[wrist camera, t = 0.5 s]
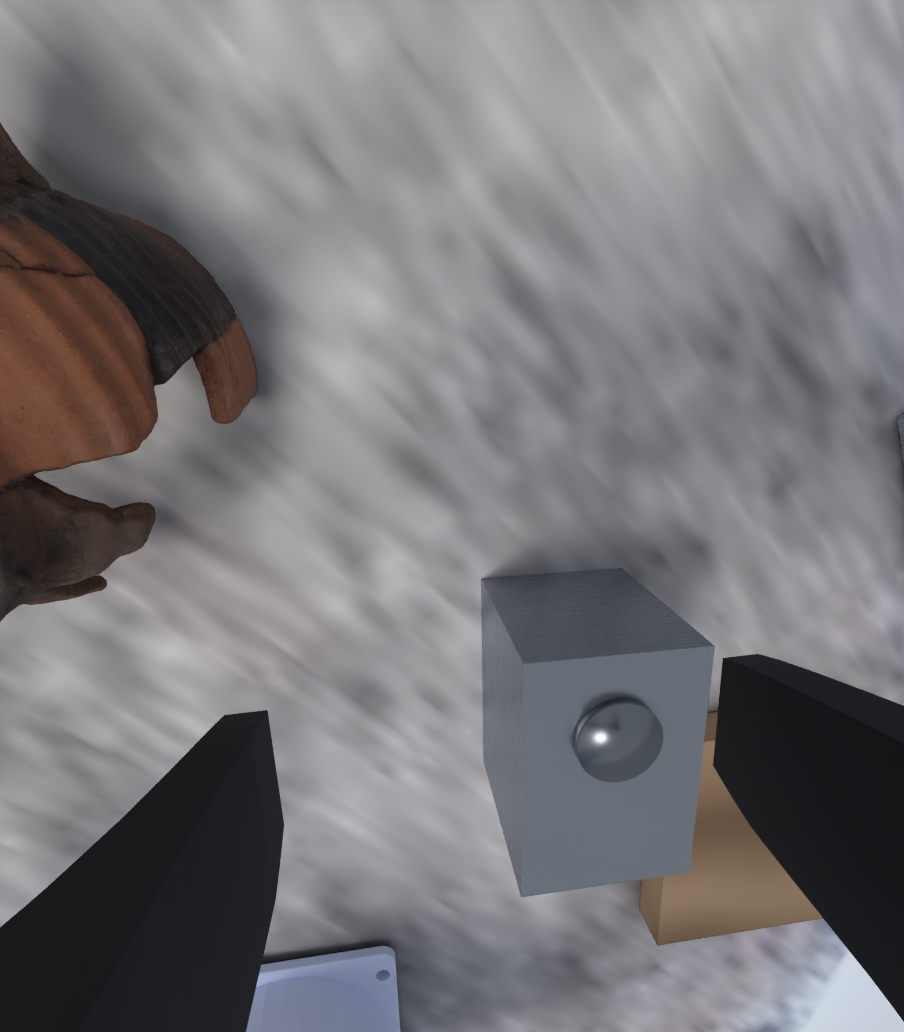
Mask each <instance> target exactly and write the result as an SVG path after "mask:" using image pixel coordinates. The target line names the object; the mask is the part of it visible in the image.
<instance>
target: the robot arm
mask: <svg viewBox="0 0 904 1032" xmlns="http://www.w3.org/2000/svg"><path fill="white" fill-rule="evenodd" d="M713 766H714V768H715V770H716V771H717V773H718V775H719V777H720V778H721V780H722V782H723V783H724V785H725V787H726V788H727V790H728V792H729V793H730V795H731V797H732V798H733V800H734V802H735V803H736V805H737V806H738V808H739V809H740V811H741V812H742V814H743V816H744V817H745V819H746V820H747V822H748V823H749V825H750V826H751V828H752V829H753V830H754V832H755V833H756V834H757V835H758V837H759V838H760V839H761V841H762V842H763V843H764V844H765V846H766V847H767V848H768V850H769V851H770V852H771V853H772V855H773V856H774V857H775V858H776V860H777V861H778V862H779V863H780V865H781V866H782V867H783V869H784V870H785V871H786V872H787V874H788V875H789V876H790V877H791V879H792V880H793V881H794V882H795V884H796V885H797V886H798V887H799V889H800V890H801V891H802V892H803V894H804V895H805V896H806V897H807V899H808V900H809V901H810V902H811V904H812V905H813V906H814V907H815V909H816V910H817V911H818V912H819V914H820V915H821V916H822V917H823V919H824V920H825V921H826V922H827V923H828V925H829V926H830V927H831V928H832V930H833V931H834V932H835V933H836V935H837V936H838V937H839V938H840V940H841V941H842V942H843V943H844V945H845V946H846V947H847V948H848V950H849V951H850V952H851V953H852V955H853V956H854V957H855V958H856V960H857V961H858V962H859V963H860V965H861V966H862V967H863V968H864V970H865V971H866V972H867V973H868V975H869V976H870V977H871V978H872V980H873V981H874V982H875V984H876V985H877V986H878V988H879V989H880V990H881V992H882V993H883V994H884V996H885V997H886V998H887V1000H888V1001H889V1002H890V1004H891V1005H892V1006H893V1007H894V1009H895V1010H896V1012H897V1013H898V1014H899V1016H900V1017H901V1018H902V1020H903V1021H904V706H903V705H900V704H898V703H895V702H892V701H890V700H887V699H884V698H882V697H879V696H876V695H874V694H871V693H869V692H866V691H863V690H861V689H858V688H855V687H853V686H850V685H847V684H845V683H842V682H839V681H837V680H834V679H831V678H829V677H826V676H823V675H821V674H818V673H815V672H812V671H810V670H807V669H804V668H801V667H798V666H796V665H793V664H790V663H787V662H784V661H780V660H777V659H774V658H770V657H767V656H763V655H759V654H755V655H746V656H737V657H728V658H723V663H722V674H721V685H720V695H719V706H718V717H717V727H716V738H715V748H714V759H713ZM283 830H284V822H283V815H282V808H281V801H280V794H279V787H278V780H277V773H276V767H275V760H274V753H273V746H272V739H271V732H270V725H269V718H268V711H267V710H266V711H257V712H248V713H239V714H231V715H224V716H223V717H222V718H221V719H220V720H219V721H218V722H217V723H216V724H215V725H214V726H213V727H212V728H211V729H210V730H209V731H208V732H207V733H206V734H205V735H204V736H203V737H202V738H201V739H200V740H199V741H198V742H197V743H196V744H195V745H194V746H193V747H192V748H191V750H190V751H189V752H188V753H187V754H186V755H185V756H184V757H183V758H182V759H181V760H180V761H179V762H178V763H177V764H176V765H175V766H174V767H173V768H172V769H171V770H170V771H169V772H168V773H167V774H166V775H165V776H164V777H163V778H162V779H161V780H160V781H159V782H158V783H157V784H156V785H155V786H154V787H153V788H152V789H151V790H150V791H149V792H148V793H147V794H146V795H145V796H144V797H143V798H142V799H141V800H140V801H139V802H138V803H137V804H136V805H135V806H134V807H133V808H132V809H131V810H130V811H129V812H128V813H127V814H126V815H125V816H124V817H123V818H122V819H121V820H120V821H119V822H118V823H117V824H115V825H114V826H113V827H112V828H111V829H110V830H109V831H108V832H107V833H106V834H105V835H103V836H102V837H101V838H100V839H99V840H98V841H97V842H96V843H95V844H94V845H93V846H92V847H90V848H89V849H88V850H87V851H86V852H85V853H84V854H83V855H82V856H81V857H80V858H79V859H77V860H76V861H75V862H74V863H73V864H72V865H71V866H70V867H69V868H68V869H67V870H66V871H64V872H63V873H62V874H61V875H60V876H59V877H58V878H57V879H56V880H55V881H54V882H52V883H51V884H50V885H49V886H48V887H47V888H46V889H45V890H44V891H42V892H41V893H40V894H39V895H38V896H37V897H35V898H34V899H33V900H32V901H31V902H30V903H29V904H27V905H26V906H25V907H24V908H23V909H22V910H20V911H19V912H18V913H17V914H16V915H14V916H13V917H12V918H11V919H10V920H9V921H7V922H6V923H5V924H4V925H3V926H1V927H0V1032H400V1018H399V1003H398V989H397V975H396V960H395V953H394V950H393V949H392V948H390V947H387V946H378V947H371V948H365V949H359V950H352V951H346V952H339V953H333V954H326V955H320V956H313V957H307V958H301V959H294V960H288V961H281V962H275V963H268V964H262V965H261V963H262V959H263V954H264V950H265V945H266V941H267V936H268V932H269V927H270V923H271V918H272V913H273V909H274V904H275V899H276V892H277V884H278V875H279V867H280V858H281V849H282V839H283Z"/></svg>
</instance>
